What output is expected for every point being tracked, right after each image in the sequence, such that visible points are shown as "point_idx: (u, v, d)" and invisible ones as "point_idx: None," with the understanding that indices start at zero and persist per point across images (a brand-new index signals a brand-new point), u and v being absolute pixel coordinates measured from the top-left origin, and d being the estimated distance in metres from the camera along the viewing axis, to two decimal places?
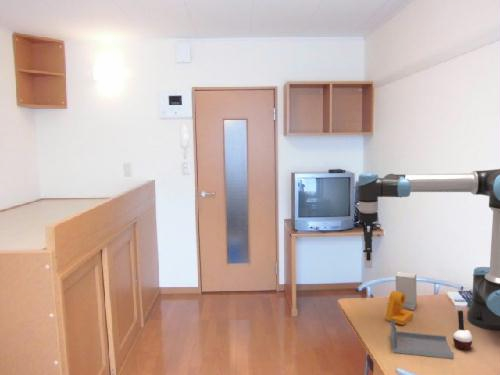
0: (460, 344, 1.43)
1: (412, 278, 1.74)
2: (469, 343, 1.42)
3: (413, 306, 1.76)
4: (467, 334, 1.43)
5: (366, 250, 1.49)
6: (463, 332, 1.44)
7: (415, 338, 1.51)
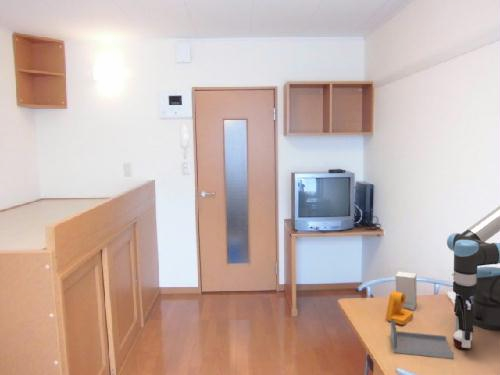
0: (460, 344, 1.43)
1: (412, 278, 1.74)
2: None
3: (413, 306, 1.76)
4: None
5: (466, 330, 1.36)
6: None
7: (415, 338, 1.51)
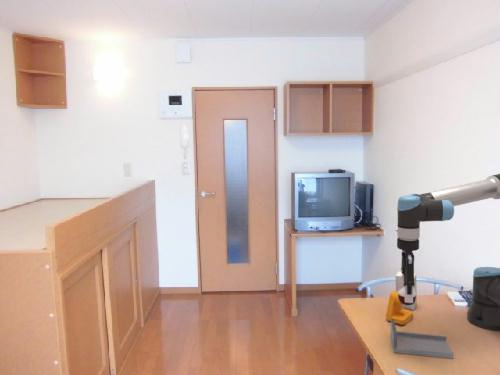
0: (404, 300, 1.43)
1: None
2: None
3: (413, 306, 1.76)
4: None
5: (407, 284, 1.37)
6: None
7: (415, 338, 1.51)
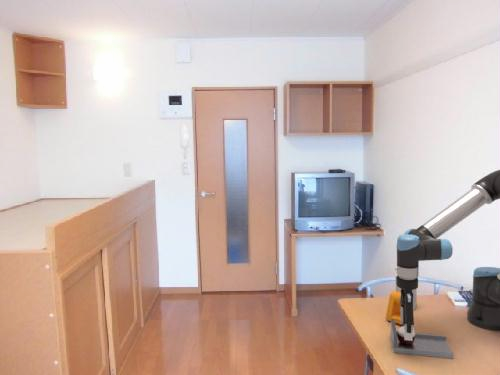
0: (403, 340, 1.46)
1: None
2: None
3: (413, 306, 1.76)
4: None
5: (407, 323, 1.37)
6: None
7: (415, 338, 1.51)
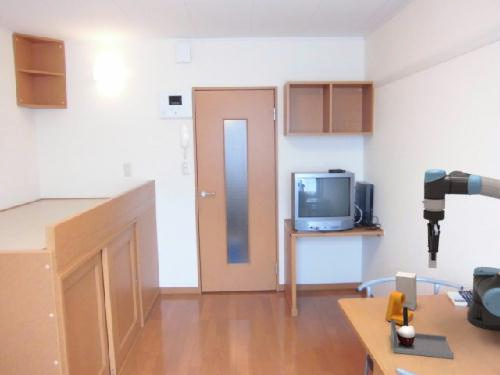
0: (403, 340, 1.46)
1: (412, 278, 1.74)
2: (411, 339, 1.45)
3: (413, 306, 1.76)
4: (410, 329, 1.46)
5: (432, 250, 1.51)
6: (406, 328, 1.46)
7: (415, 338, 1.51)
